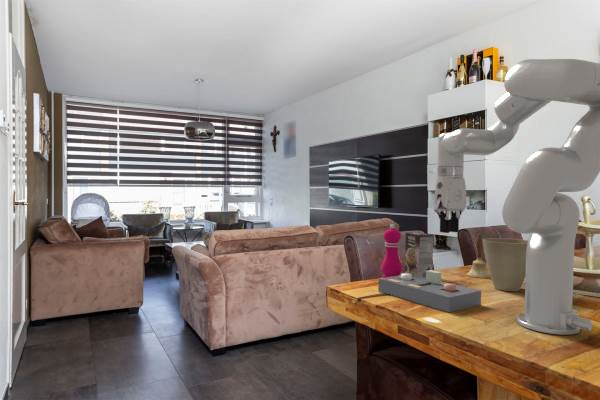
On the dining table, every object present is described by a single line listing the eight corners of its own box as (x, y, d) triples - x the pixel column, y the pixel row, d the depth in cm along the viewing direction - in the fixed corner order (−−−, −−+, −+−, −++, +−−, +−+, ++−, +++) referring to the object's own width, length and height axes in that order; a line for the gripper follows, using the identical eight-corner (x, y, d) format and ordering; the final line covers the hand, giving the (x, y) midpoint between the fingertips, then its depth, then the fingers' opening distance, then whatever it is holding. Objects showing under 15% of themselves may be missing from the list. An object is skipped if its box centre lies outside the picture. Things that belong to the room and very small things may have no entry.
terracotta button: (458, 292, 112) (458, 285, 112) (451, 294, 110) (451, 286, 110) (448, 290, 115) (448, 282, 115) (441, 291, 113) (441, 284, 113)
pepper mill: (402, 283, 138) (403, 225, 137) (381, 282, 139) (381, 224, 139) (401, 278, 145) (402, 223, 144) (381, 277, 146) (381, 223, 146)
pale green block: (441, 293, 120) (441, 272, 120) (436, 294, 119) (437, 273, 118) (430, 290, 123) (430, 270, 123) (425, 291, 122) (426, 270, 122)
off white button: (413, 281, 125) (413, 274, 125) (406, 282, 124) (406, 275, 124) (405, 279, 128) (405, 273, 128) (398, 280, 126) (398, 274, 126)
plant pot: (530, 286, 135) (531, 239, 135) (535, 296, 122) (536, 244, 121) (481, 281, 141) (482, 236, 141) (481, 291, 128) (482, 241, 128)
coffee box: (404, 274, 153) (404, 232, 153) (418, 273, 155) (419, 231, 155) (417, 279, 144) (418, 234, 144) (433, 278, 146) (433, 234, 146)
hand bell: (495, 278, 148) (496, 235, 147) (472, 278, 148) (473, 235, 147) (484, 273, 156) (485, 233, 156) (463, 273, 156) (464, 232, 156)
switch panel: (480, 304, 112) (481, 289, 112) (448, 312, 105) (449, 296, 104) (409, 286, 134) (409, 273, 134) (378, 291, 126) (378, 277, 126)
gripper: (443, 171, 116) (442, 234, 117) (477, 173, 125) (476, 232, 126) (422, 172, 123) (421, 232, 123) (456, 174, 132) (455, 230, 132)
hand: (449, 231), depth 124 cm, fingers open, 3 cm apart
